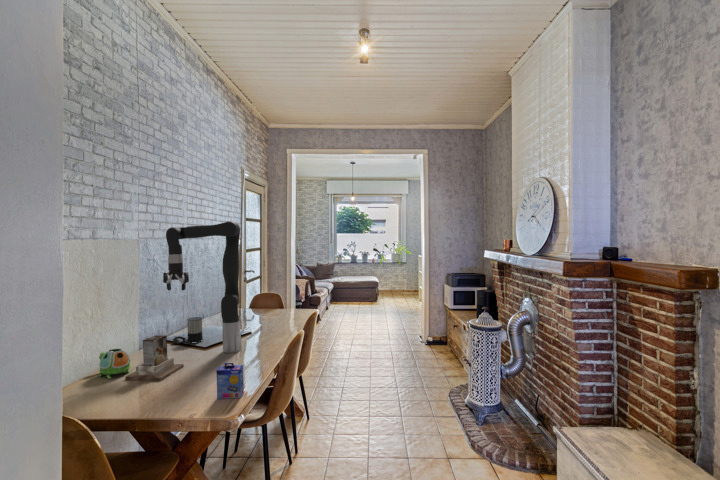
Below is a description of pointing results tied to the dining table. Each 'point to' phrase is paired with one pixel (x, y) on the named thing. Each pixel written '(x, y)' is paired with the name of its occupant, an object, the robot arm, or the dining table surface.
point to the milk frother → (192, 331)
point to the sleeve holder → (155, 371)
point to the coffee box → (155, 350)
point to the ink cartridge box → (230, 381)
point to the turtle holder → (114, 362)
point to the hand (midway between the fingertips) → (176, 290)
